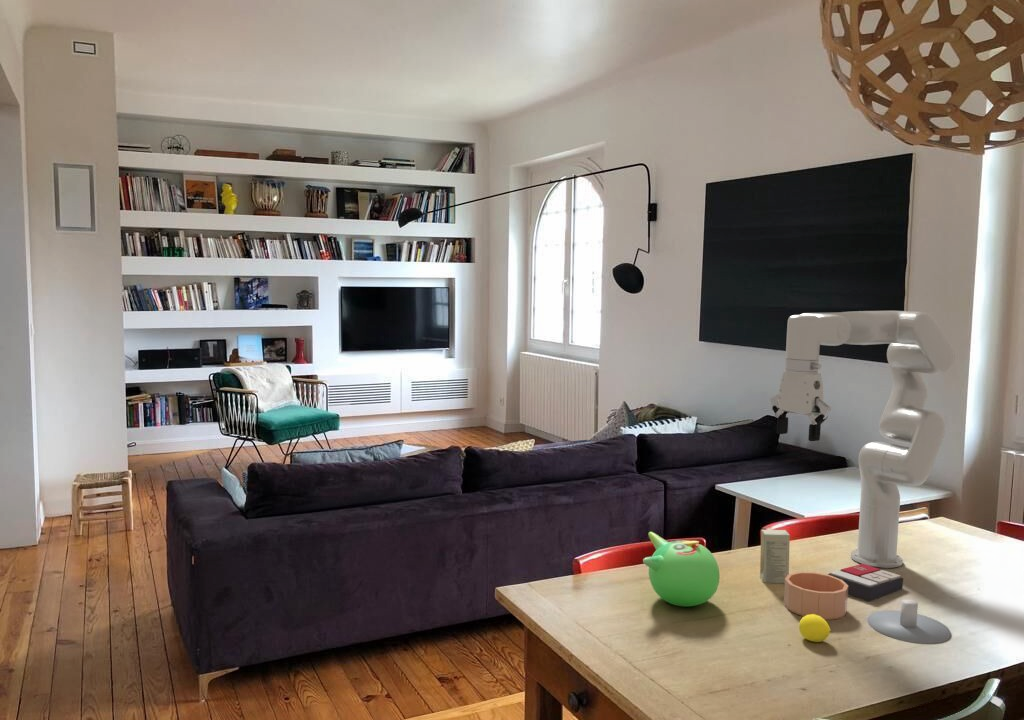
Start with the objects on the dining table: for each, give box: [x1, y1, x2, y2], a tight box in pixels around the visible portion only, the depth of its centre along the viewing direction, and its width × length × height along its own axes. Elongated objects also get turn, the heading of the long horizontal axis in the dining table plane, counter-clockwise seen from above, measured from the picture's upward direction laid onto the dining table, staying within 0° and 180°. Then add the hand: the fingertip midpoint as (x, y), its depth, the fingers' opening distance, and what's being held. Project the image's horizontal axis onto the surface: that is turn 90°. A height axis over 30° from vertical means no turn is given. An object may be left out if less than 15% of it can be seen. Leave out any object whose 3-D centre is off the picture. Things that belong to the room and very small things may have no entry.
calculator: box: [827, 563, 904, 602], centre depth 199 cm, size 11×4×15 cm
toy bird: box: [642, 531, 721, 608], centre depth 188 cm, size 18×17×15 cm
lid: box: [866, 599, 951, 644], centre depth 176 cm, size 16×16×6 cm
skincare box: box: [759, 529, 791, 584], centre depth 203 cm, size 6×4×12 cm
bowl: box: [783, 571, 849, 621], centre depth 186 cm, size 13×13×6 cm
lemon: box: [798, 614, 832, 643], centre depth 169 cm, size 7×5×5 cm
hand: (797, 437), depth 199 cm, fingers open, 9 cm apart
